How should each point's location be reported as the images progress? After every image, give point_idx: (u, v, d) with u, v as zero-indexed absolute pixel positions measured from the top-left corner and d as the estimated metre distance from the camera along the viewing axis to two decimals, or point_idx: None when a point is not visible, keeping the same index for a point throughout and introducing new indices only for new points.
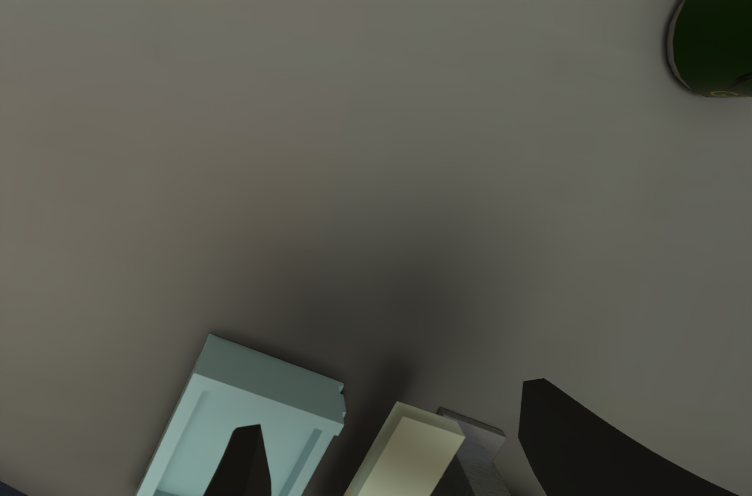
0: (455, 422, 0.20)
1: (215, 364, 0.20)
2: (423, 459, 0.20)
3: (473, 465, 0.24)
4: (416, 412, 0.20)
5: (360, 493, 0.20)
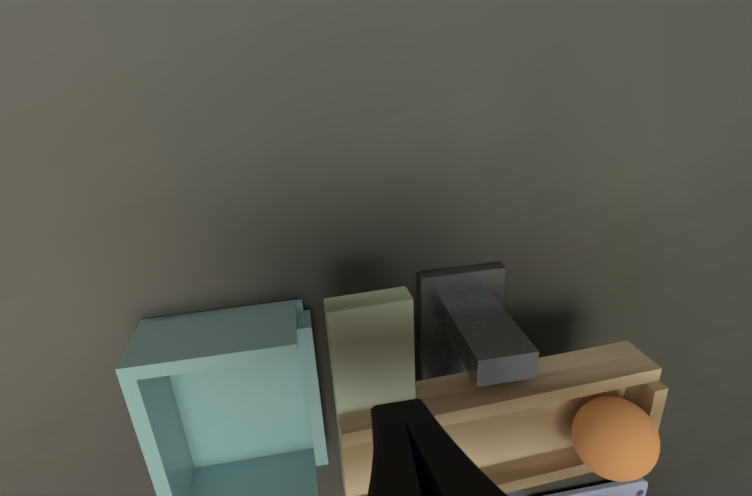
0: (402, 288, 0.17)
1: (143, 349, 0.19)
2: (382, 342, 0.17)
3: (470, 314, 0.21)
4: (347, 300, 0.17)
5: (338, 402, 0.18)
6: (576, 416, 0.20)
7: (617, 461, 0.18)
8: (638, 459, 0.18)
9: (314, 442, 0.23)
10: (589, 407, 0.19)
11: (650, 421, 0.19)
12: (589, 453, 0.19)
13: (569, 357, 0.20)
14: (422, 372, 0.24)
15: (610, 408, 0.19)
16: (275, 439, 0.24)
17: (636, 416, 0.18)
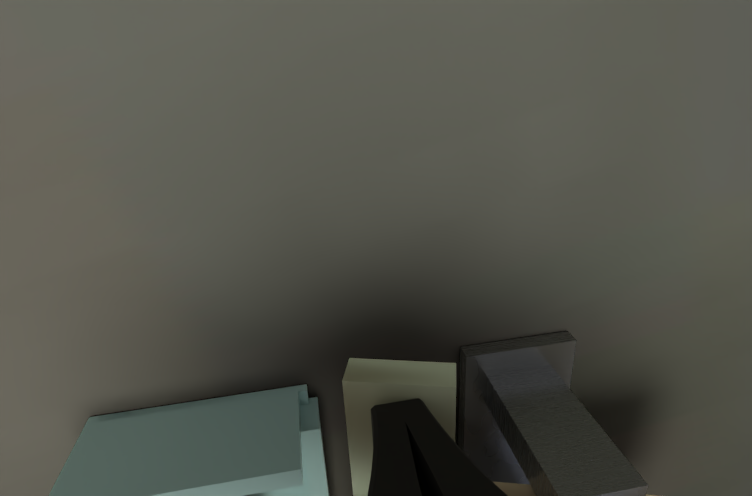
0: (451, 365, 0.13)
1: (84, 474, 0.13)
2: None
3: (536, 412, 0.15)
4: (375, 367, 0.13)
5: (354, 484, 0.14)
6: None
7: None
8: None
9: None
10: None
11: None
12: None
13: None
14: None
15: None
16: None
17: None
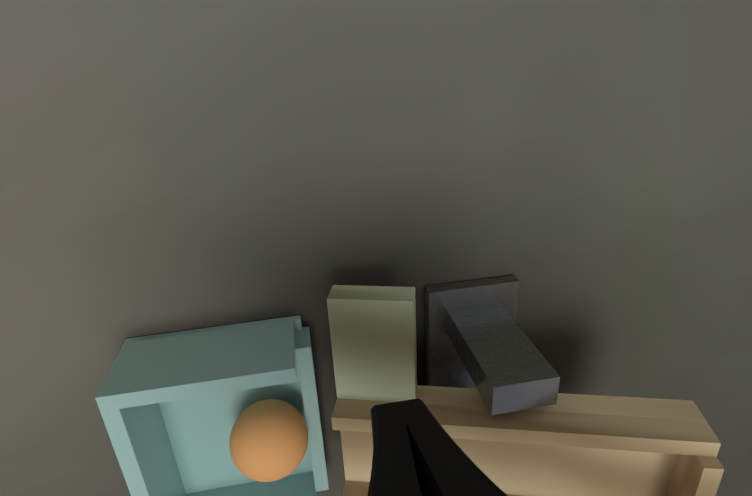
0: (411, 288, 0.17)
1: (126, 373, 0.17)
2: (380, 338, 0.17)
3: (482, 333, 0.19)
4: (352, 290, 0.17)
5: (337, 386, 0.18)
6: (281, 451, 0.19)
7: None
8: None
9: (314, 467, 0.22)
10: (275, 433, 0.19)
11: (252, 404, 0.20)
12: (306, 436, 0.20)
13: (606, 401, 0.18)
14: None
15: (271, 413, 0.19)
16: None
17: (263, 401, 0.20)
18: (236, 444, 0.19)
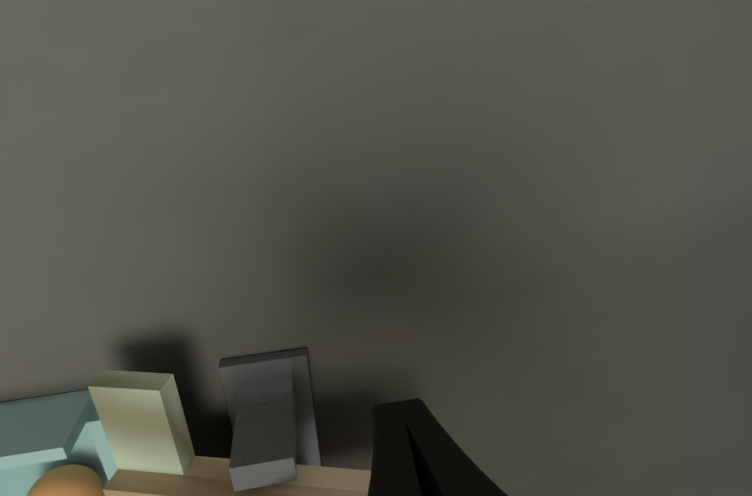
0: (168, 375, 0.19)
1: None
2: (140, 420, 0.19)
3: (255, 408, 0.21)
4: (116, 377, 0.19)
5: (116, 459, 0.20)
6: None
7: (101, 484, 0.22)
8: (96, 472, 0.23)
9: None
10: None
11: (58, 467, 0.22)
12: None
13: (351, 475, 0.20)
14: None
15: (57, 483, 0.21)
16: None
17: (61, 468, 0.22)
18: None
